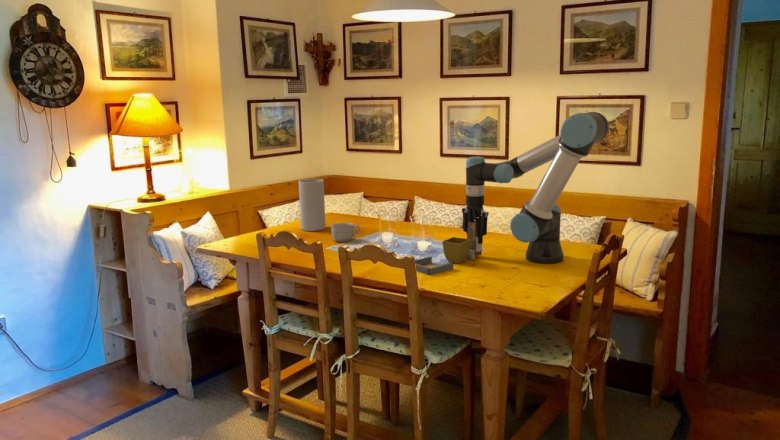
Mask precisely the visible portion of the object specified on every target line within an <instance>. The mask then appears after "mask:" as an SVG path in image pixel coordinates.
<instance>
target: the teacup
mask: <svg viewBox="0 0 780 440" xmlns="http://www.w3.org/2000/svg"><path fill="white" fill-rule="evenodd" d="M330 228H331V229H330V230H331V232H330V233H331V237H332V238H333V239H334V240H335V241H336V242H338V243H339V242H340V243H341V242H343V243H344V242H349V241H351V240H352V239H353V238H355V236H356V235H358V234H359V233H360V232H361V229H362V228H361V227H360V225H359V224H354V223H352V222H339V223H337V222H336V223H332V224H330ZM356 228H357V229H358V230H357V231H356V232H355V229H356Z"/></svg>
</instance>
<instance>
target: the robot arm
mask: <svg viewBox="0 0 780 440" xmlns="http://www.w3.org/2000/svg"><path fill="white" fill-rule="evenodd" d="M609 131H610V123H609V121H608V119H607V118H606V116H605V115H603V114H602V113H600V112H597V111H589V112H577V113H575V114H572V115H570V116H569V117H567V118H566V119H565V120H564V121H563V122H562V124H561V127H560V134H559V135H556V136H554V137H553V138H550V139H549V140H546V141H545V142H544V143H541V144H540V145H537V146H535V147H534V148H531V149H529V150H528V151H526V152H523V153H521V154H519V155H518V156H516V157H513V158H512V159H510V160H506V161H502V162H498V163H497V162H496V163H494V162H493V163H492V162H490V163H489V162H486V160H485V157H483V156H470V157H467V158H466V161H465V174H466V175H465V194H466V196H465V205H466V207H462V208H461V211H462V224H463V225H462V230H463V232H465V233H466V239H468V222H472V221H475V222H476V229H477V235H476V252H479V251H482V252H483V250H482V249H483V248H482V247H483V242H484V241H483V239H484V236H487V234H488V233H487V232H488V217H489V211H485V210H484V204H485V182H488V183H489V182H490V183H497V184H509V183H510V182H511V181H512V180H513V179H518V178H520V177H522V176H523V175H524V174H526V173H528V172H531V171H532V170H535V169H537V168H539V167H541V166H543V165H545V164H547V163H549V162H550V165H549V166H548V168H547V170H546V172H545V173H544V175H543V177H542V178H541V181H540V182H539V184H538V187H537V188H536V190H535V192H534V194H533V195H532V197H531V199H530V200H527V201H525V202H524V204H523V205H522V208H521V209H520V211H519V213H516V214H515V215H514V216H513V217H512V218H511V220H510V224H509V226H510V228H509V229H510V231H511V234H512V235H513V237H514V238H515V239H516V240H517V241H519V242H520V243H527V244H528V245H527V249H526V251H525V259H526V260H527V261H528V262H532V263H536V264H556V263H557V264H558V263H561V262H563V261H564V260H565V257H564V255H565V254H564V252H563V249H562V244H561V241H560V240H561V220H562V219H561V217H562V216H561V214H562V212H561V206H560V205H559V204H557V201H558V200H559V198H560V196H561V194H562V193H563V191H564V189H565V187H566V185H567V184H568V182H569V180H570V178H571V177H572V175H573V173H574V171H575V170H576V167H578V164H579V162H580V161H581V159H582V158H586V157H587V156H588V155H589V153H590V152H591V150H592V148H593V146H594V145H595V144H598V143H601V142H602V141H603V140H604V139H606V137H607V136H608V133H609Z"/></svg>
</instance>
